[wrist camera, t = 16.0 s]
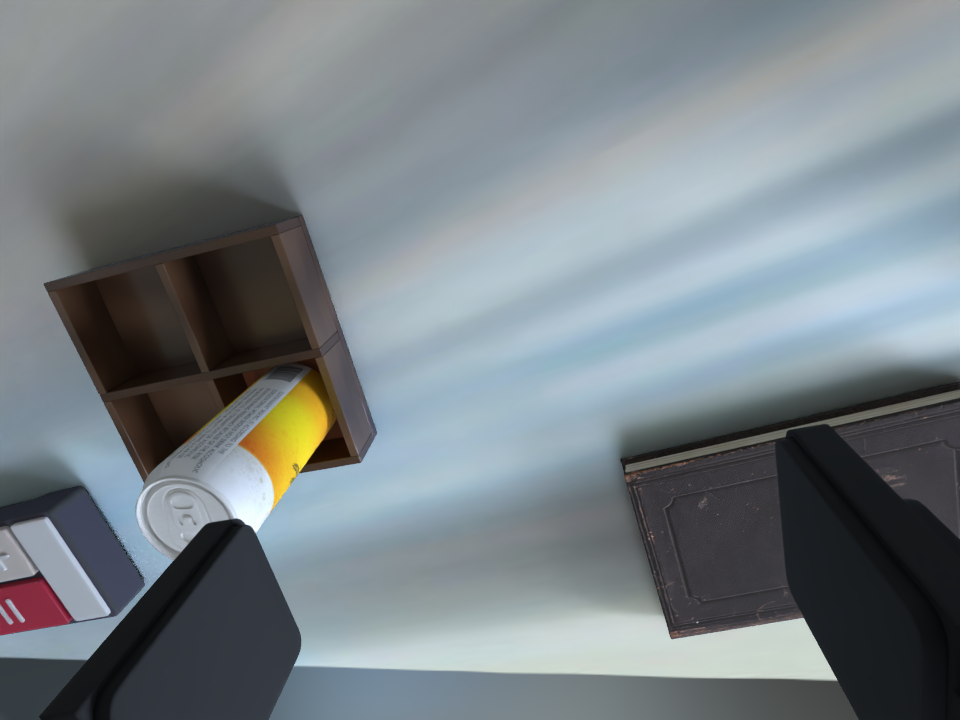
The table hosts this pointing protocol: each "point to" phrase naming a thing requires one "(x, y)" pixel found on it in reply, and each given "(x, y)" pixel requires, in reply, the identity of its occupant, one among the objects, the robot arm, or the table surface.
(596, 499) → the table surface
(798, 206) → the table surface
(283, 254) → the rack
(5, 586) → the calculator
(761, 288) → the table surface
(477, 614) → the table surface
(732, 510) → the hardcover book
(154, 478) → the beer can
